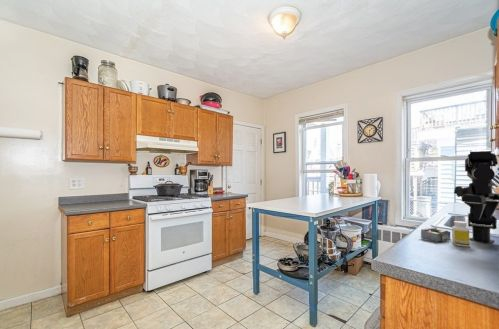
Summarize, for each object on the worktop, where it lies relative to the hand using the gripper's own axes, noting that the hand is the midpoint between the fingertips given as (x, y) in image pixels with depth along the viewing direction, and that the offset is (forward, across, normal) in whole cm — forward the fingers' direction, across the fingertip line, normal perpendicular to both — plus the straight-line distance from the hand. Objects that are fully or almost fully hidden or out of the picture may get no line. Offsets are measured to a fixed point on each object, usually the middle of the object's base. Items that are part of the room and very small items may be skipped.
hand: (483, 218), depth 94 cm
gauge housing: (+12, +3, -16) cm, 20 cm away
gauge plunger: (+11, +3, -16) cm, 20 cm away
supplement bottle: (+12, +3, -6) cm, 14 cm away
